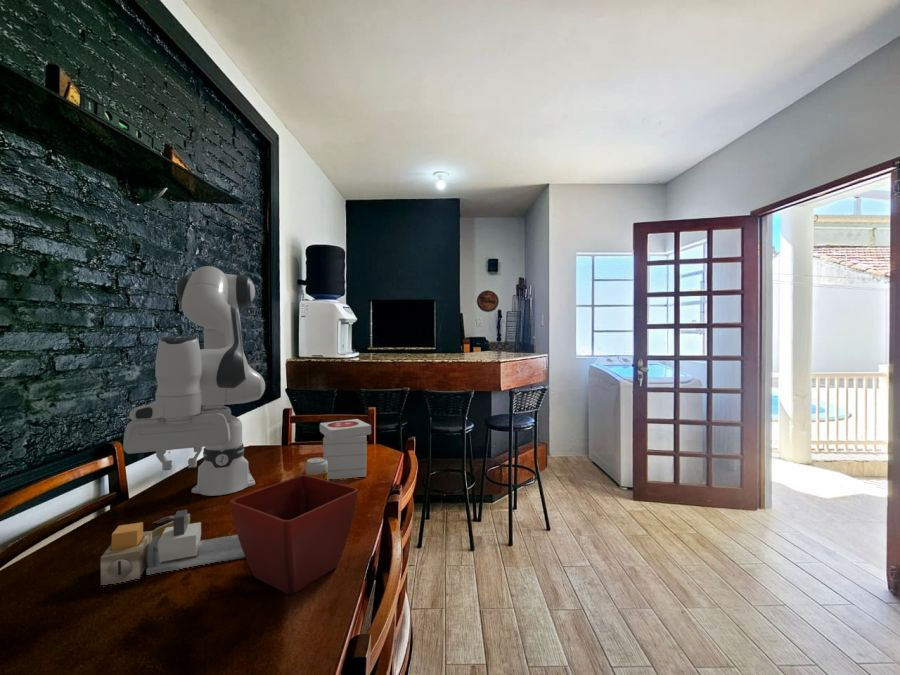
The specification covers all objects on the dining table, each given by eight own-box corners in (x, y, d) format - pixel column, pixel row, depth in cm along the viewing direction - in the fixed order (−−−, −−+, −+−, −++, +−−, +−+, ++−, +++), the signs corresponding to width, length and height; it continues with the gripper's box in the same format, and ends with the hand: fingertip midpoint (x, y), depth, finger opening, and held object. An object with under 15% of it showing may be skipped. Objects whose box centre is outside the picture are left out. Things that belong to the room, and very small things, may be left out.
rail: (156, 557, 97) (156, 533, 97) (274, 537, 106) (273, 515, 106) (146, 576, 89) (146, 550, 89) (274, 552, 99) (273, 528, 99)
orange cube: (119, 541, 92) (118, 525, 92) (143, 537, 94) (143, 522, 94) (111, 550, 88) (111, 534, 88) (137, 546, 90) (137, 530, 90)
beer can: (321, 516, 118) (321, 463, 118) (301, 515, 119) (301, 462, 119) (331, 508, 124) (331, 457, 124) (313, 506, 125) (312, 456, 125)
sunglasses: (150, 554, 99) (148, 532, 99) (105, 554, 103) (103, 533, 103) (202, 528, 112) (200, 509, 112) (160, 528, 117) (158, 510, 117)
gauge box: (117, 562, 95) (117, 536, 95) (152, 556, 97) (152, 530, 97) (99, 588, 85) (99, 558, 85) (138, 581, 87) (138, 552, 87)
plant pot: (286, 612, 77) (286, 520, 77) (227, 580, 87) (227, 500, 87) (360, 564, 93) (360, 488, 93) (303, 542, 104) (303, 474, 104)
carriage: (166, 549, 97) (165, 510, 97) (201, 543, 100) (200, 505, 100) (158, 564, 90) (158, 522, 90) (196, 557, 93) (195, 517, 93)
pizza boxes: (371, 455, 179) (370, 413, 179) (371, 479, 149) (371, 428, 149) (324, 458, 175) (324, 415, 175) (315, 483, 146) (315, 431, 146)
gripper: (232, 402, 102) (232, 459, 102) (129, 408, 94) (130, 469, 94) (229, 405, 96) (230, 466, 96) (120, 412, 88) (120, 478, 88)
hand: (179, 468), depth 95 cm, fingers open, 3 cm apart
